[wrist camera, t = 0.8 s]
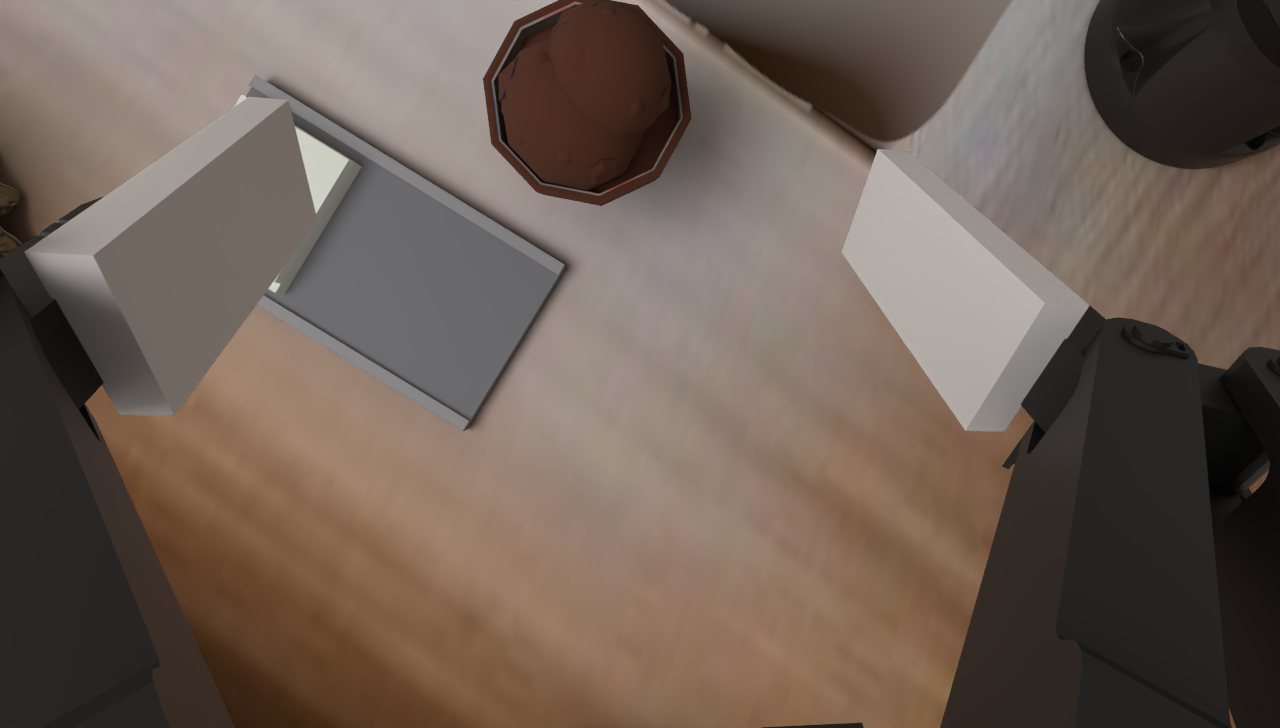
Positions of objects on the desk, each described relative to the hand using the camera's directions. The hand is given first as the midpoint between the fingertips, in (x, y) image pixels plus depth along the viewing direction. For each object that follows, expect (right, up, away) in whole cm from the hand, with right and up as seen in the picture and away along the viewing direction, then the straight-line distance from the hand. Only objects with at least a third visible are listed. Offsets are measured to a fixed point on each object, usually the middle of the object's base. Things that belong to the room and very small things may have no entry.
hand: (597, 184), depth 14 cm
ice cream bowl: (-2, +10, +27) cm, 29 cm away
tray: (-18, +3, +27) cm, 33 cm away
